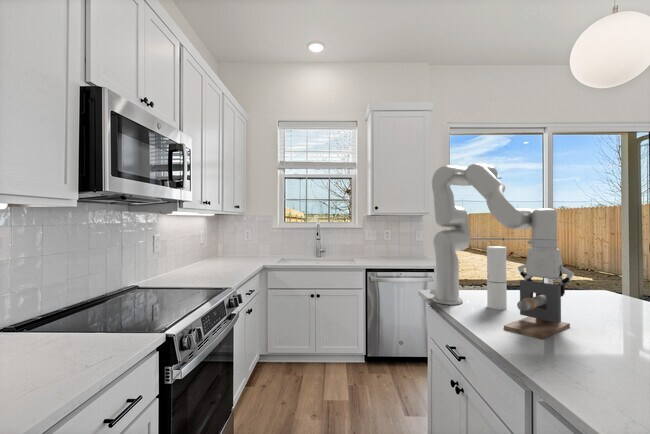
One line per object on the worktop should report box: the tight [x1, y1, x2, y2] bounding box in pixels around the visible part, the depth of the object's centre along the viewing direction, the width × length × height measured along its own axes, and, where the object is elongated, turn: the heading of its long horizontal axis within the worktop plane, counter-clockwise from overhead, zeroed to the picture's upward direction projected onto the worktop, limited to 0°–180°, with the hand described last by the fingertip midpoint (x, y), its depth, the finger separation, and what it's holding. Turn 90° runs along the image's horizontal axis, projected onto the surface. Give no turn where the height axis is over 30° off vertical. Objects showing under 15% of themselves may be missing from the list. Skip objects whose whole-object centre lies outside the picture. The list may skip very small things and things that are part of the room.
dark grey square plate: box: [519, 279, 562, 323], centre depth 118 cm, size 12×2×12 cm, turn 35°
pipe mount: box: [503, 293, 571, 340], centre depth 117 cm, size 12×20×12 cm, turn 125°
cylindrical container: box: [486, 245, 508, 311], centre depth 143 cm, size 7×7×25 cm
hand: (544, 293), depth 120 cm, fingers open, 9 cm apart
